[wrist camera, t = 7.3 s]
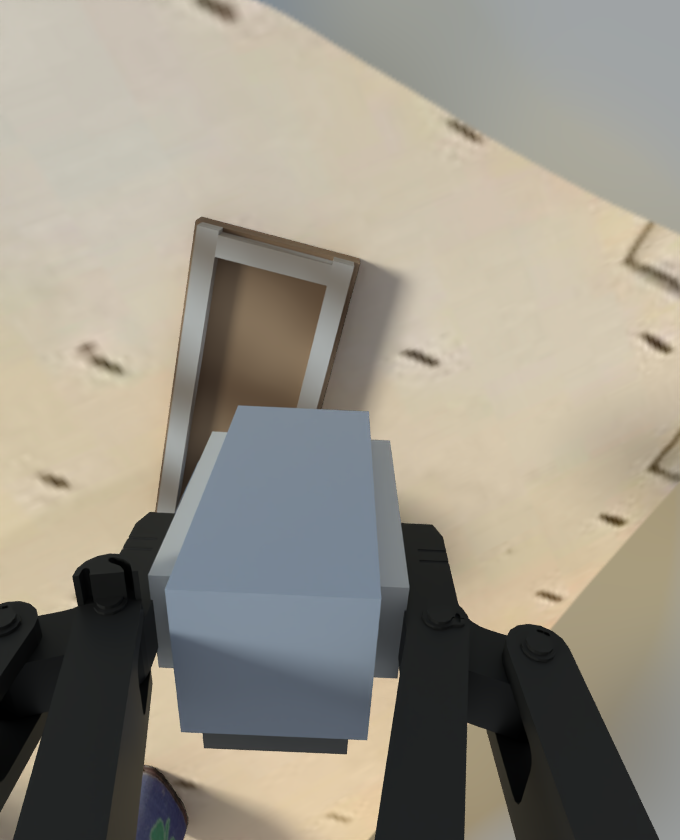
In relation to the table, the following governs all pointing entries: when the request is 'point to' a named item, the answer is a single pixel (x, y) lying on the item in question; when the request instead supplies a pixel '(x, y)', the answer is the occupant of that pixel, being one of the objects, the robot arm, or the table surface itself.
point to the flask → (159, 809)
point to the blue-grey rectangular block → (280, 586)
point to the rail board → (249, 337)
